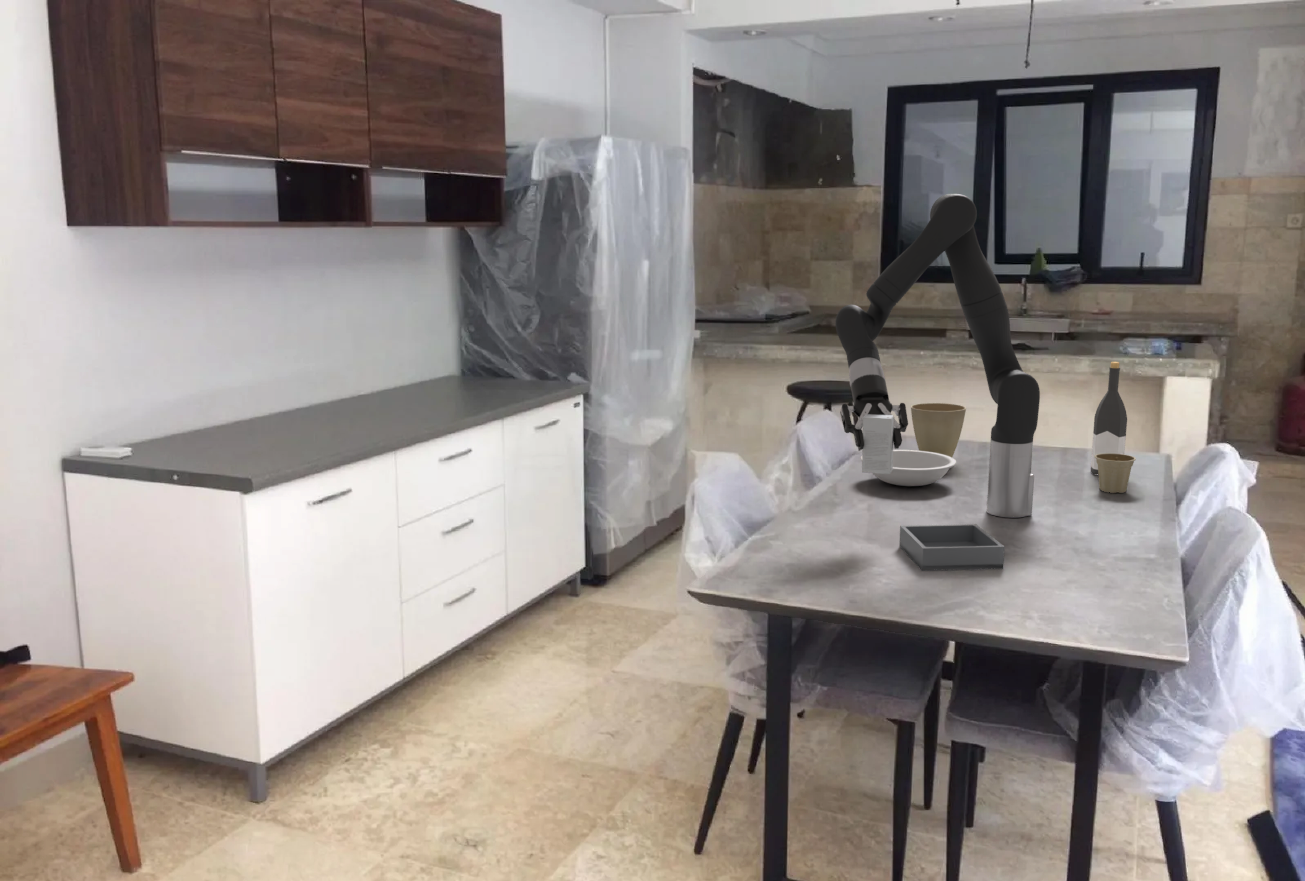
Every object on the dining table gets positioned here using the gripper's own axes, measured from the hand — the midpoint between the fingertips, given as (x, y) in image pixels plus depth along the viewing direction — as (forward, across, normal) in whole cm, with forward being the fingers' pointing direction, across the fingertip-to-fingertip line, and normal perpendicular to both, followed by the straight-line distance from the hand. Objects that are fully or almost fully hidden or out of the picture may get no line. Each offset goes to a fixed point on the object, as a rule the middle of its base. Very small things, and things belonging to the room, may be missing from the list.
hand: (879, 446), depth 224 cm
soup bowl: (-19, +20, +49) cm, 56 cm away
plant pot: (-36, +35, +66) cm, 83 cm away
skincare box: (+3, 0, +5) cm, 6 cm away
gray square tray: (+24, +11, +4) cm, 27 cm away
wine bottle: (-24, +76, +54) cm, 96 cm away
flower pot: (-12, +69, +41) cm, 81 cm away
